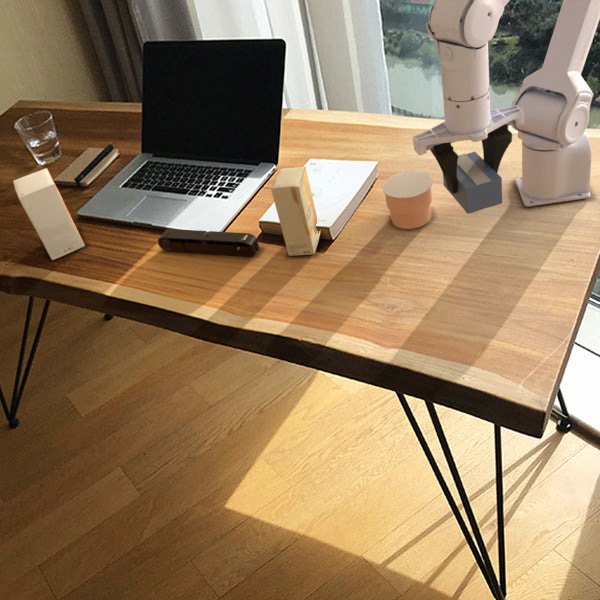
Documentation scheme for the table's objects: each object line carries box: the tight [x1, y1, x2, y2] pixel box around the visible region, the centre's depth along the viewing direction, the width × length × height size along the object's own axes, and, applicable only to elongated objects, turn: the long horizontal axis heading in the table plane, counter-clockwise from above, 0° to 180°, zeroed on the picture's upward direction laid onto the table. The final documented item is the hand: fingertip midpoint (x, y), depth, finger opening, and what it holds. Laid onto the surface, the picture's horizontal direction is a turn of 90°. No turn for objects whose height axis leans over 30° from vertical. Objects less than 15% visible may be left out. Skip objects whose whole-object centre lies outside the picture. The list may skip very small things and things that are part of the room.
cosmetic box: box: [270, 166, 321, 257], centre depth 104 cm, size 6×4×12 cm
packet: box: [442, 151, 503, 215], centre depth 94 cm, size 8×5×4 cm, turn 12°
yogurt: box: [381, 170, 433, 230], centre depth 105 cm, size 8×8×6 cm
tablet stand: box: [157, 228, 260, 257], centre depth 111 cm, size 18×3×3 cm, turn 68°
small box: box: [12, 167, 86, 261], centre depth 119 cm, size 8×6×13 cm
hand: (471, 184), depth 94 cm, fingers closed on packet, 5 cm apart
